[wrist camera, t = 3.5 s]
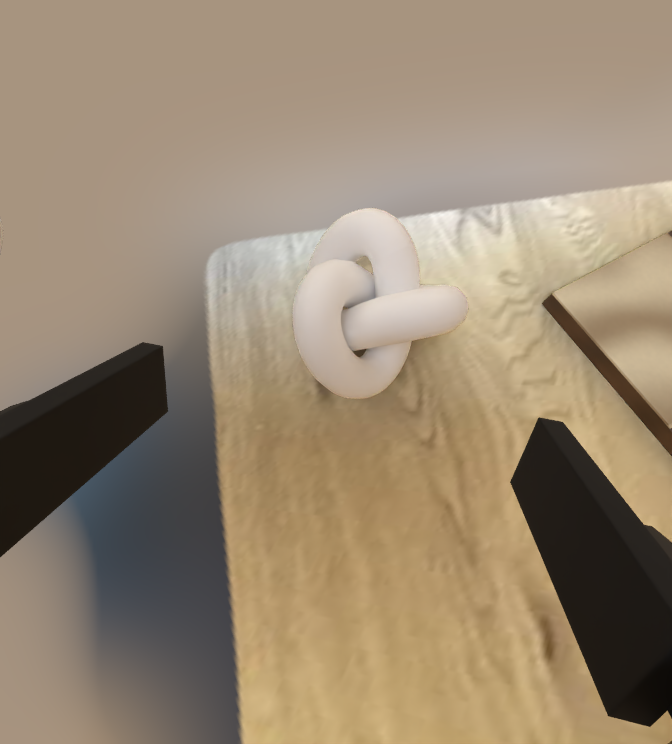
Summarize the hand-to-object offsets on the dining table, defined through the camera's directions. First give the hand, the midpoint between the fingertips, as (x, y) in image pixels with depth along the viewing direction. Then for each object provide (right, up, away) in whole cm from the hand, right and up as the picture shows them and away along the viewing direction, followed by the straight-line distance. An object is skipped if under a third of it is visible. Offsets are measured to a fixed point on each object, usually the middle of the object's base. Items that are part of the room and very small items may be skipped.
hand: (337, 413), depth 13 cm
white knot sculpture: (+2, +4, +16) cm, 17 cm away
